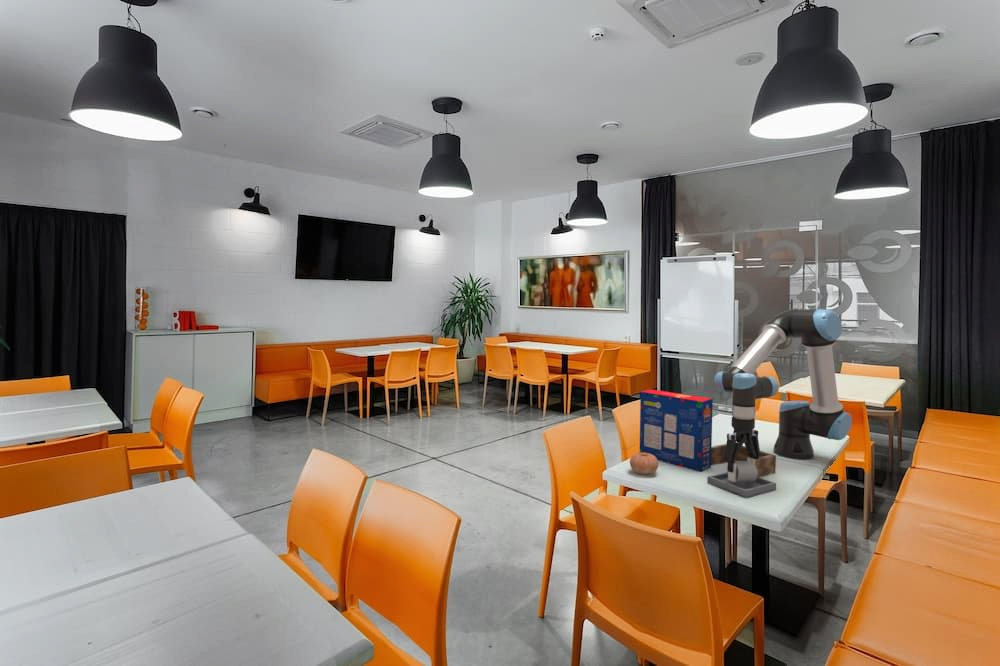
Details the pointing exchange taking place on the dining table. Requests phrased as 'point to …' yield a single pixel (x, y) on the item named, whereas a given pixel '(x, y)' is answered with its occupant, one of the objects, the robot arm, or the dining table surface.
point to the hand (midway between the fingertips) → (741, 478)
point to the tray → (742, 485)
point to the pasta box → (676, 428)
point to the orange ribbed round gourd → (644, 463)
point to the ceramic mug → (745, 472)
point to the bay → (763, 464)
